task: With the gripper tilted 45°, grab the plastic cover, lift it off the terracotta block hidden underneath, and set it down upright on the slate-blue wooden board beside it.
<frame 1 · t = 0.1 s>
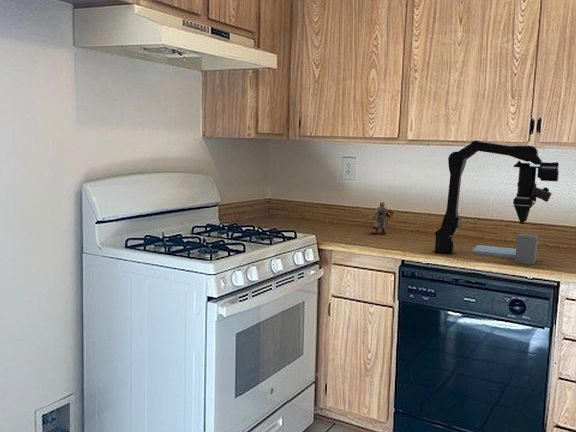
hand: (523, 222, 205), 15 cm above the worktop, tool pointing down, fingers open, 9 cm apart
cover: (525, 262, 207), on the worktop
figurine: (381, 234, 261), on the worktop
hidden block: (525, 257, 206), in the cover
board: (501, 253, 222), on the worktop
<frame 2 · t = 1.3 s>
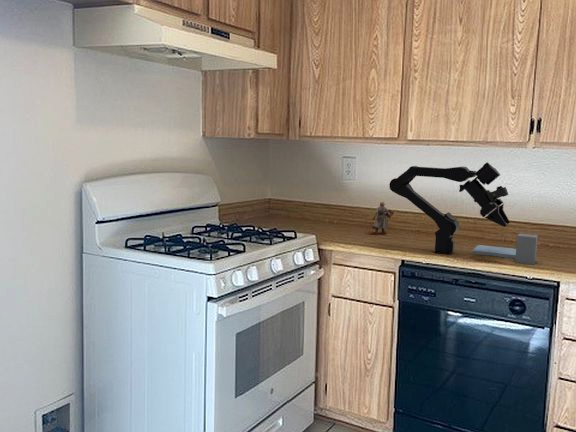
hand: (507, 224, 208), 13 cm above the worktop, tool tilted 45°, fingers open, 9 cm apart
nothing on the worktop moved.
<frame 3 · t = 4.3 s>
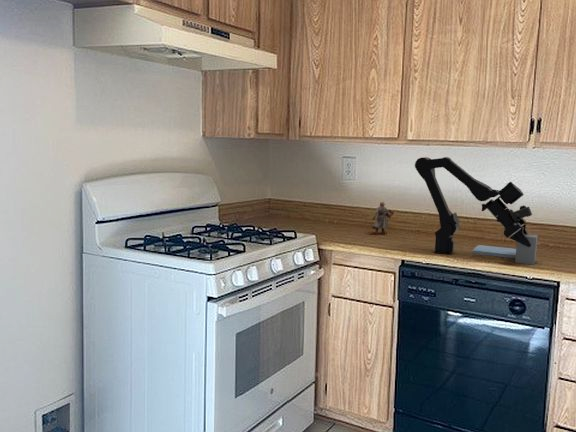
hand: (530, 244, 205), 7 cm above the worktop, tool tilted 45°, fingers closed on cover, 6 cm apart
cover: (525, 262, 207), on the worktop, touching gripper
everything else where it was.
when the fingers open (9 cm above the worktop, at t = 9.1 s): cover drops 1 cm, resting on board.
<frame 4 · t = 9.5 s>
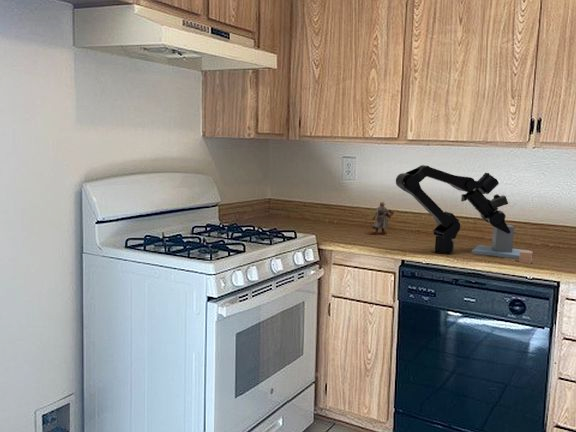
hand: (506, 231, 220), 9 cm above the worktop, tool tilted 45°, fingers open, 9 cm apart
cover: (501, 250, 221), point 1 cm above the worktop, touching board
everything else where it was.
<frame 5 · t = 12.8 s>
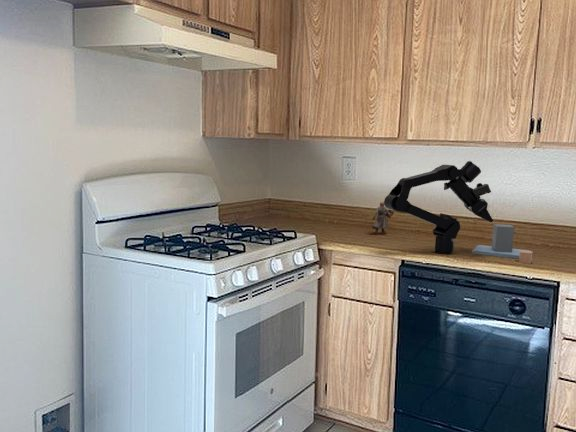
hand: (489, 219, 218), 14 cm above the worktop, tool tilted 45°, fingers open, 9 cm apart
nothing on the worktop moved.
at the end: cover inside the target area (0.1 cm from its centre), point 1.2 cm above the worktop; cover tilted 0°; the gripper is holding nothing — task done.
